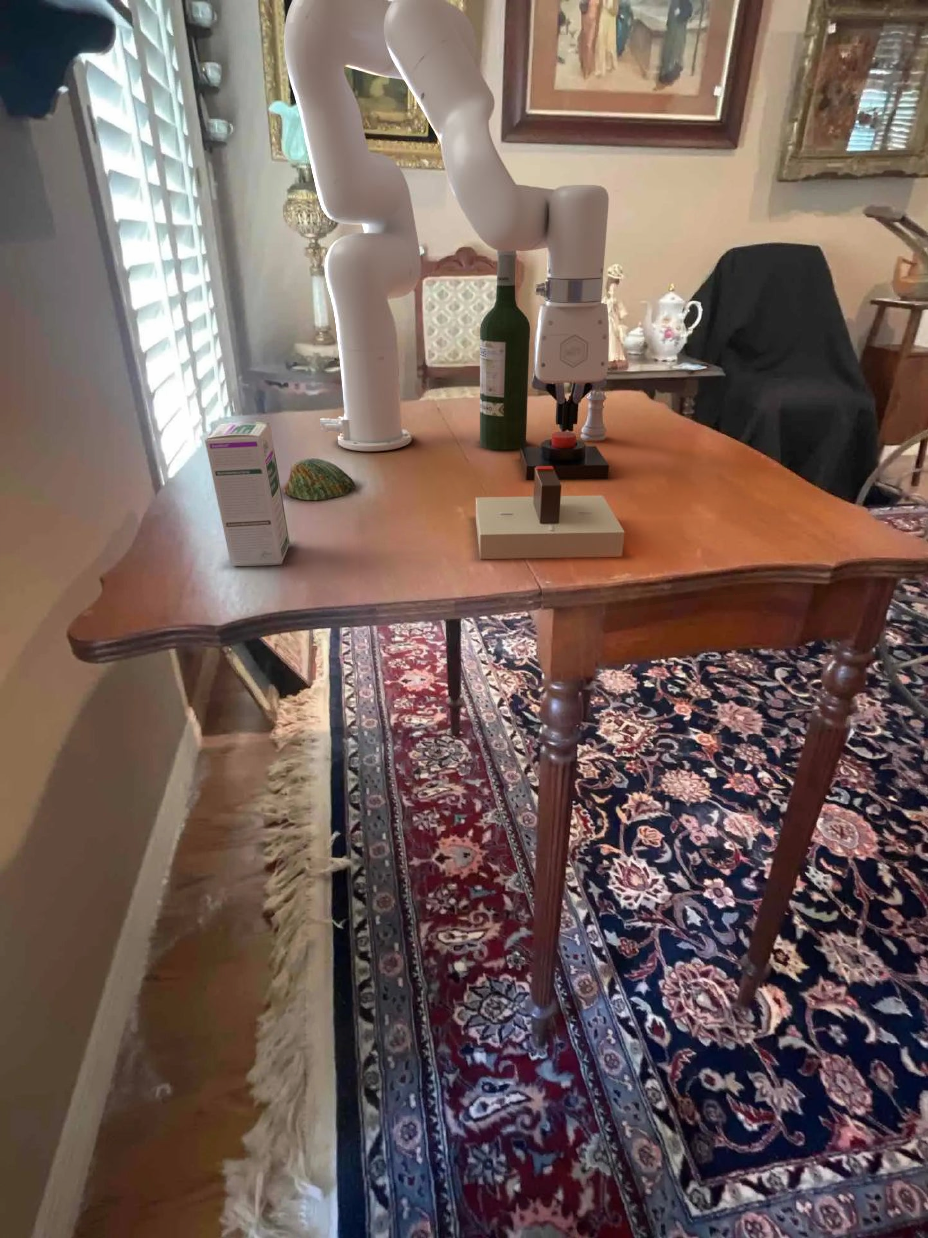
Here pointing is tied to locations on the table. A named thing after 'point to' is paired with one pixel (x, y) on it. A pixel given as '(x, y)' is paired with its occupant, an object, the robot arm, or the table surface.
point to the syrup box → (248, 493)
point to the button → (563, 439)
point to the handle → (547, 494)
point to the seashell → (317, 480)
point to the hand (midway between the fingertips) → (565, 428)
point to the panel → (547, 529)
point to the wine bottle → (504, 365)
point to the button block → (565, 461)
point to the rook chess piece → (594, 418)
